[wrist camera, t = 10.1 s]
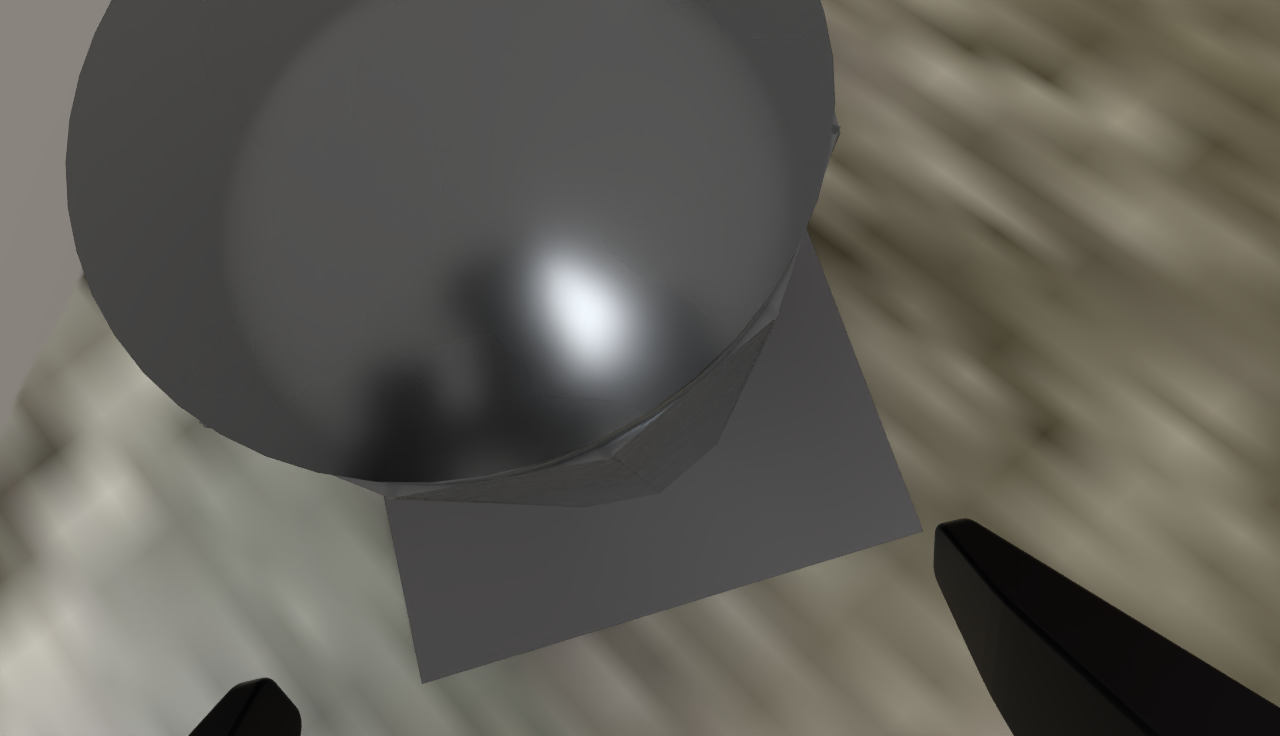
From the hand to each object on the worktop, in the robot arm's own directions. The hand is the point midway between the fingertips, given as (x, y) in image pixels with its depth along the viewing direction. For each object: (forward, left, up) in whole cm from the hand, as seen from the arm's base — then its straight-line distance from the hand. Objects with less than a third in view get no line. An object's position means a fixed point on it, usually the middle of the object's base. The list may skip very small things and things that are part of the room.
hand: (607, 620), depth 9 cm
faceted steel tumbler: (+5, 0, -8) cm, 10 cm away
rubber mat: (+5, 0, -9) cm, 10 cm away
